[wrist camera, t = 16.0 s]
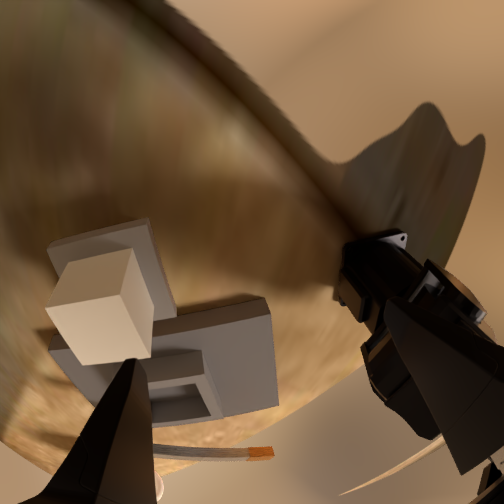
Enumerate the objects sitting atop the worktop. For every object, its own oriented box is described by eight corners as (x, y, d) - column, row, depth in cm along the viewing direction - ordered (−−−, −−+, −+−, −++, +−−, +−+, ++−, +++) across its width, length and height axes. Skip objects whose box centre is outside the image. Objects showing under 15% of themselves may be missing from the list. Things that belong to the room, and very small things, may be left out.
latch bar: (273, 445, 28) (276, 454, 27) (265, 451, 29) (268, 460, 28) (98, 432, 21) (97, 443, 20) (98, 439, 22) (98, 450, 21)
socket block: (264, 298, 24) (284, 349, 19) (274, 391, 32) (287, 432, 27) (53, 335, 22) (37, 383, 17) (117, 415, 30) (115, 455, 25)
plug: (153, 200, 18) (135, 267, 12) (176, 284, 22) (178, 367, 15) (65, 223, 18) (17, 292, 11) (97, 299, 21) (76, 378, 14)
